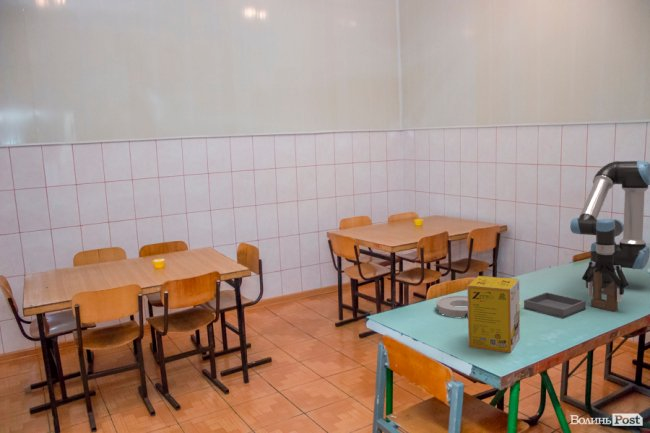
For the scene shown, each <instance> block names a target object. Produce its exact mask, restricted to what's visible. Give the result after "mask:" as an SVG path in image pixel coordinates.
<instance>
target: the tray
mask: <svg viewBox="0 0 650 433" xmlns="http://www.w3.org/2000/svg"><path fill="white" fill-rule="evenodd" d="M586 305H587V301H586V300H583V299H580V298H579V299H578V298H575V297H570V296H565V295H560V294H556V293H552V292H543V293H541V294H537V295H535V296H533V297H529V298H527V299H524V300H523V308H524V310H529V311H533V312H536V313H541V314H545V315H548V316H552V317H557V318H560V319H566V318H568V317H570V316H572V315H575V314H578V313H581V312H583V311H585V310H586Z"/></svg>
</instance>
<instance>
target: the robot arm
mask: <svg viewBox="0 0 650 433" xmlns="http://www.w3.org/2000/svg"><path fill="white" fill-rule="evenodd" d="M592 184H593V185H592V187H591V189H590V191H589V194H588V196H587V199H586V201H585V204H584V206H583V208H582V210H581V212H580V215H579V217H576V218H575V217H574V218H572V219H571V221H570V231H571V233H573V234H574V235H575V234H576V235H585V236H586V235H587V236H595V241H594V242H592V243H591V244H590V251H589V252H590V261H589V262H588V265H587V269H586V270H585V272H584V273H583V276H582V278H581V279H582V280H583V281H585V287H586V289H587V296H588V297H590V296H593V276H594V272H593V269H595V268H597V269H596V270H595V272H596V273H597V272H598V271H599V272H600V273H602V289H605V288H606V287H607V286H608V285H610V284H611V283H612V282H614V281H615V282H616V284H617V285H618V288H617V302H618V303H620V302H622V300H623V295H624V294H625V288H627V287H629V282H628V281H627V278H626V277H625V274H624V271H623V270H622V269H623V268H624V269H632V270H643V269H645V267H646V266H647V265H648V262H649V258H650V247H648V246H646V245H647V242H646V241H645V240H644V238H643V235H644V217H645V216H644V213H645V210H644V209H645V208H644V207H645V194H646V193H645V192H646V191H647V190H648V189H649V186H650V162H648V161H645V160H644V161H643V160H629V161H628V160H627V161H622V160H621V161H619V160H617V161H612V162H608V163H607V164H606V165H604V166H603V167H601V168H600V169H599V170H598V171H597V172H596V174H595V175H594V177H593V179H592ZM614 185H621V189H622V190H623V191H624V203H623V204H624V205H623V207H624V208H623V222H622V221H621V220H619V219H615V218H614V219H612V218H600V219H598V218H599V214H600V212H601V210H602V207H603V205H604V202H605V200H606V198H607V195H608V193H609V191H610V189H612V188H613V186H614ZM621 234H622V239H620V240H619V244H617V242H616V241H615V239H616V237H618V236H620V235H621Z"/></svg>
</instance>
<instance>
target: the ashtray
mask: <svg viewBox="0 0 650 433" xmlns="http://www.w3.org/2000/svg"><path fill="white" fill-rule="evenodd" d="M455 306H467V307H455ZM437 310H439V311H438V314H439V313H441V314H444V315H447V316H452V317H451V318H453V317H461V318H460V319H465V318H466V317H468V295H450V296H446V297H442V298H439V299H438V300H437V301H436V311H437ZM441 314H440V315H441ZM444 315H443V316H444ZM464 315H465V316H464ZM447 316H446V317H447Z"/></svg>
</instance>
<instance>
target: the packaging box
mask: <svg viewBox="0 0 650 433" xmlns="http://www.w3.org/2000/svg"><path fill="white" fill-rule="evenodd" d="M466 287H467V289H466V290H467V296H468V316H467V327H468V328H467V331H468V333H467V334H468V335H467V337H468V347H469V348H474V347H475V348H476V349H481V348H482V349H481V350H488V351H496V352H503V353H509V354H512V352H513V350H514V348H515V347H516V345H518V344H517V343H518V342H519V340H520V339H521V338H520V337H521V333H520V330H521V328H520V324H521V323H520V322H521V318H520V317H521V316H520V312H521V311H520V306H521V305H520V278H510V277H498V276H497V277H496V276H488V275H487V276H486V275H478V276H477V277H476V278H474V279H473V280H472V281H471V282H470V283H469V284H467V285H466Z"/></svg>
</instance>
